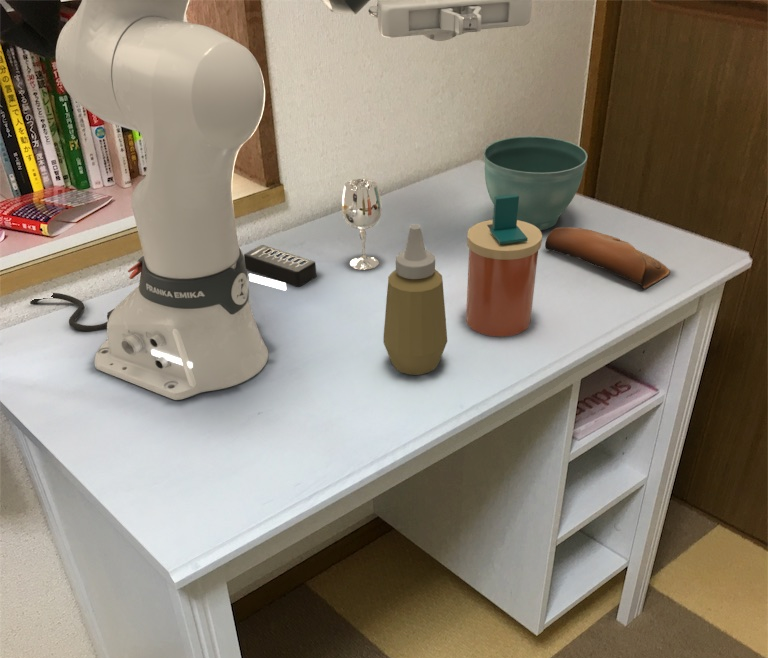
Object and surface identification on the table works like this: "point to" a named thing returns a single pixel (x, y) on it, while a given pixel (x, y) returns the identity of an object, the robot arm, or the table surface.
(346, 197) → the wineglass
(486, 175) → the flower pot
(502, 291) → the lidded orange canister
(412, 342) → the squeeze bottle
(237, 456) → the table surface
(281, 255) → the multiport hub
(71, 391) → the table surface
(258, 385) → the table surface
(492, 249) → the cup lid
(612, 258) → the sunglasses case
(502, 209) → the teal l-shaped bracket
